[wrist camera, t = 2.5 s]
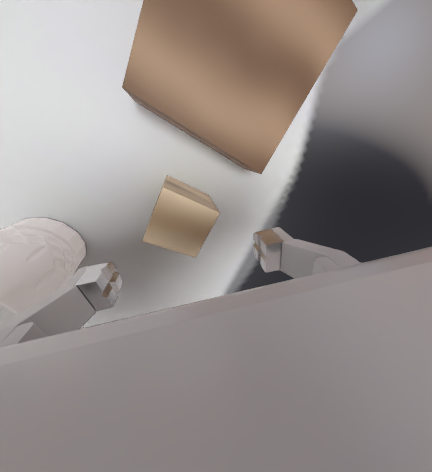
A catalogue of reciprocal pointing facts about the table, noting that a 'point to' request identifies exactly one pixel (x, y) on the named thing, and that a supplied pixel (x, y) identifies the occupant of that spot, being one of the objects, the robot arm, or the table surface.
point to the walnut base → (233, 67)
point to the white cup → (35, 262)
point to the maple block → (181, 218)
